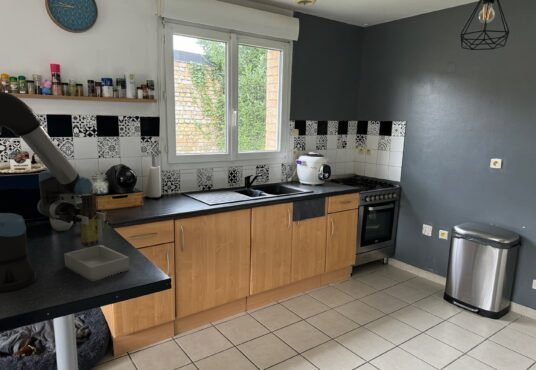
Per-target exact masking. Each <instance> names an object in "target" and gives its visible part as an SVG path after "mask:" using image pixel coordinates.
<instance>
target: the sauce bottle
mask: <svg viewBox="0 0 536 370" xmlns="http://www.w3.org/2000/svg"><path fill="white" fill-rule="evenodd" d="M93 198H94V195H93V193H88V194H82V195H80V199H81V210H80V212H79V215H81V216H85V217H88V219H89V225H86V224H82V223H79V228H80V229H79V230H80V231H79V232H80V241H81V246H82V247H85V248H88V247H89V246H94V245H97V244H98V243H99V232H98V219H97V212H96V209H97V208H95V207H94V203H93V202H94V201H93Z"/></svg>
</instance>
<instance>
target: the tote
mask: <svg viewBox="0 0 536 370" xmlns="http://www.w3.org/2000/svg"><path fill="white" fill-rule="evenodd" d="M63 255H64V256H63V258H64V267H66V268H67V269H69V270H71V271H73V272H75V273H76V274H78V275H79V274H80V275H79V276H81V277H83V278H85V279H87V280H88V281H90V282H91V283H92V282H93V283H94V282H95V281H99V280H102V279H105V277H106V278H108V276H109V277H112V276H115V275H118V274H117V273H119V274H121V273H120V272H122V273H124V271H125V272H127V270H128V271H130V256H127V255H125V254H123V253H121V252H118V251H116V250H113V249H112V248H109V247H107V246H105V245H103V246H102V245H97V246H93V247H89V248H88V247H85V248H81V249H78V250H72V251H68V252H64V254H63ZM114 274H115V275H114ZM111 275H112V276H111Z"/></svg>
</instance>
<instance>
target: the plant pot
mask: <svg viewBox="0 0 536 370" xmlns="http://www.w3.org/2000/svg"><path fill="white" fill-rule="evenodd" d="M101 213H104V214H105V215H107V211H105V210H101ZM101 225H102V231H103V230H104V229H105V221H102V220H101Z"/></svg>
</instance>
